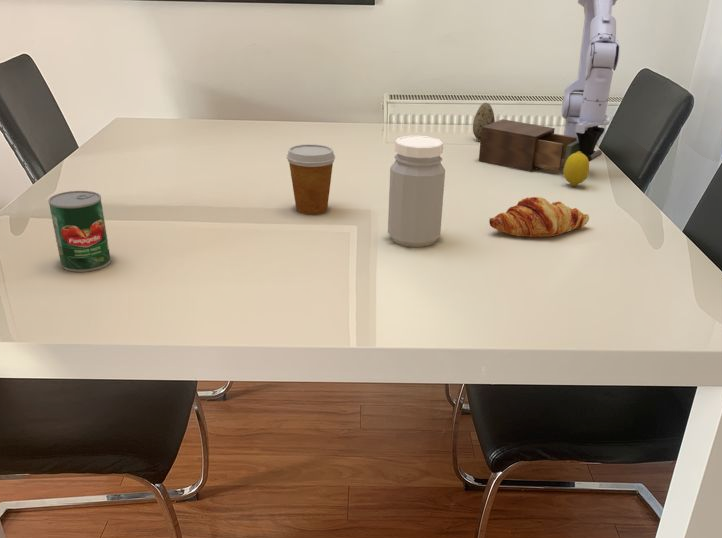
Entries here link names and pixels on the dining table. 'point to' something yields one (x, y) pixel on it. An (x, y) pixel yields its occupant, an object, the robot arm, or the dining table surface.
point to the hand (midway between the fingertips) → (585, 158)
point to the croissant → (538, 218)
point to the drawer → (557, 151)
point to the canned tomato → (80, 230)
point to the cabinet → (511, 143)
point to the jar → (416, 191)
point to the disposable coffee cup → (311, 176)
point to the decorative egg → (482, 119)
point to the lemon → (576, 168)
